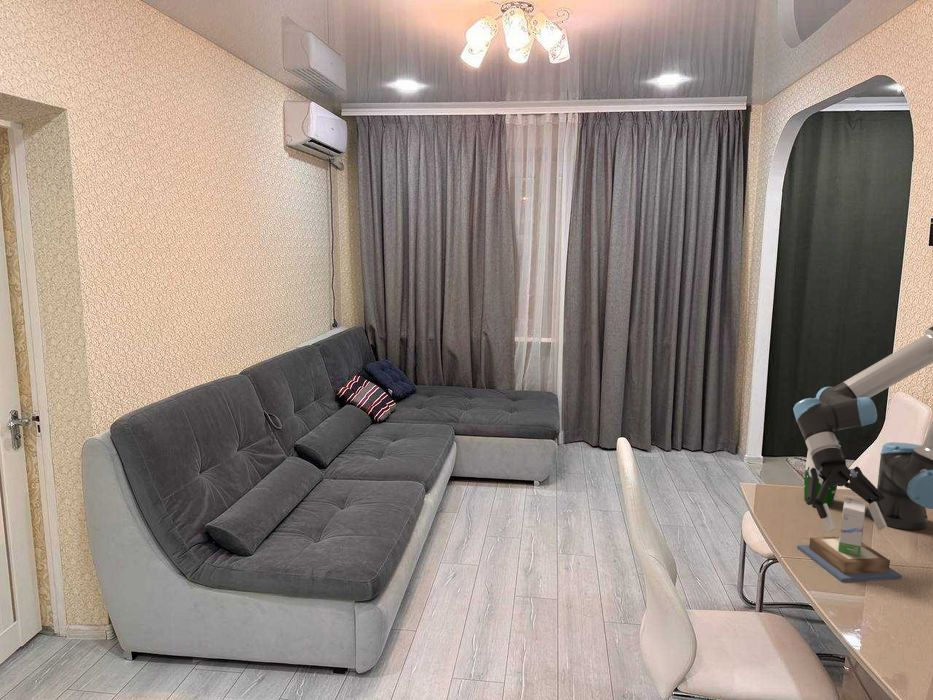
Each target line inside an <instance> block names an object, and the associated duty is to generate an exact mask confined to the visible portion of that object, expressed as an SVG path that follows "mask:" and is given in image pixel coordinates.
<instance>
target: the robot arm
mask: <svg viewBox="0 0 933 700" xmlns="http://www.w3.org/2000/svg"><path fill="white" fill-rule="evenodd" d="M932 364H933V325H932V326H931V327H928V328H927V329H926V330H925V331H924V334H923V335H922V336H920V337H919V338H917V339H915V340H913V341H912V342H910V343H909V344H906V345H905V346H903V347H901V348H900V349H898V350H896V351H894V352H893V353H891V354H889V355H887V356H886V357H884V358H882V359H881V360H878V361H877V362H876V363H874V364H872V365H870V366H869V367H867V368H865V369H863V370H861V371H860V372H858V373H856V374H855V375H852V376H851V377H850V378H848V379H846V380H845V381H842V382H841V383H839V384H837V385H834V386H825V387H822V388H820V390H818V392H817V393H816V395H815V397H814V398H812V397H809V398H804V399H801V400H800V401H798V402H796V403H795V404H794V405H793V406H794V407H793V408H792V410H793V414H794V417H795V421H796V423H797V425H798V427H799V430H800V432H801V435H802V437H803V439H804V442H805V445H806V447H807V451H808V450H809V452H810V455H811V456H812V460H813V463H814V465H815V468H816V469H817V470H816V469H815V468H812V469H810V470H809V471H808V472H807V475H808V479H809V481H808V490H807V499H806V501H805V502H806V505H808V506H811V507H812V508H813V509H815V510H816V511H817V514H818V517H819V518H820V519H822V520H823V522H824V525H825V529H826V530H827V533H832V532H833V531H835V530H836V529H837V525H836V523H835V521H834V517H833V515H832V513H831V510H830V508H829V506H828V505H827V503H825V504H823V501H824V499H825V497H826V494H827V492H828V490H829V487H830V486H832V487H835V486H837V487H845V488H846V489H849V490H851V491H852V492H853V493H855V494H856V495H857V496H859V497H860V498H862V499H863V500H864V502H866V503H868V505H867V511H866V514H867V517H868V518H870V519H871V520H873V522H874V524H875V526H876V529H877V530H878V531H882V530H884V529H885V528H887V527H891V528H895V529H902V530H908V531H909V530H910V531H913V530H914V531H917V530H924V529H926V528H927V527H928V523H929V517H928V515H927V510H926V509H929V510H933V422H932V423H931V426H930V428H929V430H928V432H927V435H926V437H925V439H924V442H923V443H922V444H921V445H920V444H917V443H916V444H915V443H907V442H895V441H894V442H886V443H884V444H883V445H882V447H881V452H880V453H879V454H880V459H879V468H878V477H877V486H875V485H874V484H873V483H872V482H871V481H870V479H868V478H867V477H866V476H865V474H864V473H863V471H862V470H861V468H860V467H859V466H855V467H854V468H849V467H848V466H847V463H846V462H847V461H846V458H845V456H844V454H843V450H842V448H841V449H839V448H840V446H841V444H840V445H839V443H838V441H839V440H838V439H837V436H836V435H835V432H836V431H841V430H847V429H853V428H858V427H865V426H867V425H868V426H869V425H871V424H874V423H876V421H877V419H878V411H877V407H876V405H875V402H874V401H873V400H872V397H874V396H876V395H878V394H879V393H881V392H883V391H884V390H887V389H888V388H890V387H892V386H894V385H896V384H897V383H899V382H901V381H902V380H903V381H904V380H905V379H906V378H909V377H910V376H912V375H913V374H915V373H917V372H919V371H920V370H922V369H924V368H926V367H928V366H930V365H932ZM837 440H838V441H837ZM818 476H819V477H820V478H822V479H823V482H822V484H821V488H820V490H819V493H818V495H817V497H816V491H817V481H818Z"/></svg>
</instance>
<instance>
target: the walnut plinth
mask: <svg viewBox="0 0 933 700" xmlns="http://www.w3.org/2000/svg"><path fill="white" fill-rule="evenodd" d="M839 538H840V535H839V536H821V537H820V536H818V537H809V544H808V545H809V549H810V550H812V551H813V552H815V553H816V554H817V555H819V556H820V557H821V558H823V559H824V560H825V561H827V562H828V563H829V564H831V565H832V566H833V567H835V568H836V569H838V570H839V571H840V572H842V573H843V574H858V573H878V572H889V567H890V568H891V566H890V565H891V560H890V559H889V558H887V557H885V555H884V556H883V555H882V554H881V553H879V552H878V551H876V550H874V549H873V548H872V547H870V546H869V545H867V544H866V543H863V542H862V543H861V550H860V556H857V555H852V554H847V553H843V552H839V551H838V549H839Z"/></svg>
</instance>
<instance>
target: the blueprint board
mask: <svg viewBox="0 0 933 700" xmlns="http://www.w3.org/2000/svg"><path fill="white" fill-rule="evenodd" d="M796 548H797V549H798V550H799V551H800V552H802V554H804V555H805V556H807V557H808V558H809V559H811V560H812V561H813V562H815V564H817V565H819V566H820V568H823V569H824V570H825V569H826V570H825V571H826V572H828V573H829V572H830V573H829V574H831V576H833V577H834V578H836V579H837V580H838V581H840V582H841V583H842V582H843V581H845V582H858V581H859V582H860V581H862V580H864V581H877V580H879V581H881V580H882V579H884V580H897V579H896V578H902V579H903V574H900V573H899V572H898V571H896V570H894V568H891V566H890V567H889V572H878V573H858V574H843V573H842V572H840V571H839V570H838V569H836V568H835V567H833V566H832V565H831V564H829V563H828V562H827V561H825V560H824V559H823V558H821V557H820V556H819V555H817V554H816V553H815V552H813V551H812V550H810V549H809V544H801V545H800V544H797V546H796ZM875 579H876V580H875ZM882 581H883V580H882ZM843 583H844V582H843Z"/></svg>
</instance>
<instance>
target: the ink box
mask: <svg viewBox="0 0 933 700" xmlns="http://www.w3.org/2000/svg"><path fill="white" fill-rule="evenodd" d="M866 503H867V502H866V501H865V500H864V501H863V500H859V499H854V498H851V497H844V502H843V506H842V514H841V521H840V529H839V536H840V538H839V549H838V551H839V552H843V553H847V554H852V555H857V556H860V550H861V543H863V534H864V526H865V525H864V524H865V515H866Z"/></svg>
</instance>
